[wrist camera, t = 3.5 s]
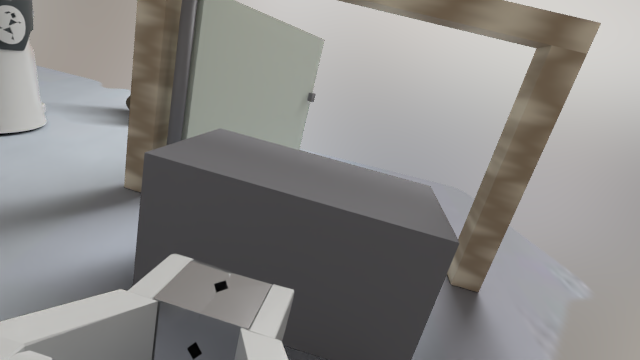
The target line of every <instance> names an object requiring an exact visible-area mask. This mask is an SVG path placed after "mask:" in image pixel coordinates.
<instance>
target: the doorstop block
mask: <svg viewBox="0 0 640 360" xmlns="http://www.w3.org/2000/svg"><path fill="white" fill-rule="evenodd" d="M458 246H459V241H458V239H457V237H456V235H455V233H454V231H453V229H452V227H451V225H450V223H449V221H448V219H447V217H446V215H445V213H444V212H443V210H442V208H441V206H440V204H439V202H438V200H437V198H436V196H435V194H434V192H433V190H432V188H431V186H427V185H424V184H420V183H416V182H413V181H409V180H405V179H402V178H398V177H395V176H391V175H387V174H384V173H380V172H377V171H373V170H369V169H366V168H362V167H358V166H355V165H351V164H348V163H344V162H340V161H337V160H333V159H330V158H326V157H322V156H319V155H315V154H312V153H308V152H304V151H301V150H297V149H293V148H290V147H286V146H283V145H279V144H275V143H272V142H268V141H265V140H261V139H257V138H254V137H250V136H246V135H243V134H239V133H236V132H232V131H228V130H225V129H221V128H219V129H216V130H213V131H210V132H207V133H204V134H201V135H197V136H194V137H191V138H188V139H185V140H182V141H179V142H176V143H173V144H170V145H166V146H163V147H160V148H157V149H154V150H151V151H148V152H145V153H144V164H143V176H142V187H141V199H140V210H139V222H138V233H137V244H136V256H135V267H134V279H133V286H134V285H135V284H136V283H137V282H138V281H140V280H141V279H142V278H143V277H144V276H146V275H147V274H148V273H149V272H150V271H152V270H153V269H154V268H155V267H156V266H157V265H159V264H160V263H161V262H162V261H163V260H165V259H166V258H167V257H168V256H169V255H171V254H179V255H182V256H186V257H189V258H192V259H194V260H198V261H201V262H204V263H207V264H210V265H213V266H216V267H219V268H222V269H225V270H228V271H231V272H234V273H236V274H239V275H243V276H246V277H249V278H253V279H256V280H259V281H263V282H266V283H269V284H273V285H274V284H275V285H279V286H282V287H286V288H290V289H293V290H294V298H293V302H292V305H291V309H290V313H289V317H288V321H287V325H286V329H285V333H284V336H283V340H282V343H283V345H284V346H287V347H290V348H293V349H297V350H300V351H303V352H306V353H309V354H312V355H315V356H318V357H322V358H325V359H328V360H411V359H412V357H413V354H414V352H415V349H416V347H417V345H418V342H419V340H420V337H421V335H422V333H423V330H424V328H425V325H426V323H427V321H428V318H429V316H430V313H431V311H432V308H433V306H434V304H435V301H436V299H437V296H438V294H439V292H440V289H441V287H442V284H443V282H444V280H445V277H446V275H447V272H448V270H449V268H450V265H451V263H452V260H453V258H454V255H455V253H456V251H457V248H458Z"/></svg>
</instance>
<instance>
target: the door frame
mask: <svg viewBox="0 0 640 360" xmlns="http://www.w3.org/2000/svg"><path fill="white" fill-rule="evenodd" d="M339 1H343V2H347V3H351V4H355V5H360V6H364V7H368V8H372V9H376V10H380V11H384V12H388V13H393V14H397V15H401V16H405V17H409V18H413V19H418V20H422V21H426V22H430V23H434V24H438V25H442V26H447V27H451V28H455V29H459V30H463V31H468V32H471V33H475V34H480V35H484V36H488V37H492V38H496V39H501V40H505V41H509V42H513V43H517V44H521V45H525V46H529V47H534V48H537V49H536V51H535V54H534V56H533V59H532V61H531V64H530V66H529V68H528V71H527V73H526V76H525V78H524V81H523V83H522V85H521V88H520V91H519V93H518V96H517V98H516V100H515V103H514V105H513V108H512V110H511V112H510V115H509V117H508V120H507V122H506V124H505V127H504V129H503V132H502V134H501V137H500V139H499V141H498V144H497V146H496V149H495V151H494V154H493V156H492V158H491V161H490V163H489V166H488V168H487V171H486V173H485V176H484V178H483V181H482V183H481V185H480V188H479V190H478V193H477V195H476V197H475V200H474V202H473V205H472V207H471V210H470V212H469V214H468V217H467V219H466V222H465V224H464V227H463V229H462V231H461V234H460V236H459V239H458V241H459V246H458V248H457V251H456V253H455V255H454V258H453V260H452V263H451V265H450V268H449V270H448V272H447V275H448V278H449V280H450V283H451V284H452V285H455V286H458V287H462V288H465V289H468V290H472V291H475V292H479V290H480V288H481V285H482V283H483V281H484V279H485V277H486V274H487V272H488V270H489V268H490V266H491V263H492V261H493V259H494V257H495V255H496V253H497V250H498V248H499V246H500V244H501V242H502V239H503V237H504V235H505V233H506V231H507V228H508V226H509V224H510V222H511V220H512V217H513V215H514V213H515V211H516V208H517V206H518V204H519V202H520V200H521V198H522V195H523V193H524V191H525V189H526V187H527V184H528V182H529V180H530V178H531V176H532V173H533V171H534V169H535V167H536V165H537V162H538V160H539V158H540V156H541V153H542V152H543V149H544V147H545V145H546V143H547V141H548V138H549V136H550V134H551V132H552V129H553V127H554V125H555V123H556V121H557V119H558V116H559V114H560V112H561V110H562V108H563V105H564V103H565V101H566V99H567V97H568V94H569V92H570V90H571V88H572V86H573V83H574V81H575V79H576V77H577V75H578V72H579V70H580V68H581V66H582V64H583V61H584V59H585V57H586V55H587V53H588V51H589V48H590V46H591V44H592V42H593V39H594V37H595V35H596V33H597V31H598V28H599V26H600V24H601V23H598V22H593V21H590V20H585V19H581V18H577V17H572V16H568V15H564V14H560V13H555V12H551V11H547V10H542V9H538V8H534V7H530V6H525V5H521V4H517V3H512V2H508V1H504V0H339ZM181 4H182V0H137V13H136V28H135V42H134V56H133V70H132V85H131V98H130V112H129V126H128V140H127V154H126V169H125V183H124V187H125V188H128V189H131V190H135V191H138V192H141V187H142V176H143V164H144V153H145V152H148V151H151V150H154V149H157V148H160V147H163V146H166V144H167V135H168V125H169V116H170V107H171V97H172V88H173V79H174V69H175V60H176V51H177V41H178V32H179V23H180V13H181Z"/></svg>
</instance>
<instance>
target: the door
mask: <svg viewBox="0 0 640 360" xmlns="http://www.w3.org/2000/svg"><path fill="white" fill-rule="evenodd" d="M323 44H324V39H321V38H319V37H317V36H315V35H312V34H310V33H308V32H305V31H303V30H301V29H298V28H296V27H294V26H292V25H289V24H287V23H285V22H283V21H280V20H278V19H276V18H273V17H271V16H269V15H267V14H264V13H262V12H260V11H257V10H255V9H253V8H250V7H248V6H246V5H243V4H241V3H239V2H237V1H234V0H182V4H181V13H180V23H179V32H178V41H177V51H176V60H175V69H174V79H173V88H172V97H171V107H170V116H169V125H168V135H167V144H166V145H170V144H173V143H176V142H179V141H182V140H185V139H188V138H191V137H194V136H197V135H201V134H204V133H207V132H210V131H213V130H216V129H219V128H221V129H225V130H228V131H232V132H236V133H239V134H243V135H246V136H250V137H254V138H257V139H261V140H265V141H268V142H272V143H275V144H279V145H283V146H286V147H290V148H293V149H297V150H299V149H300V144H301V140H302V135H303V131H304V126H305V123H306V118H307V114H308V109H309V105H310V102H314V98H315V94H314V93H312V92H313V88H314V83H315V79H316V75H317V70H318V66H319V62H320V57H321V53H322V49H323Z"/></svg>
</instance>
